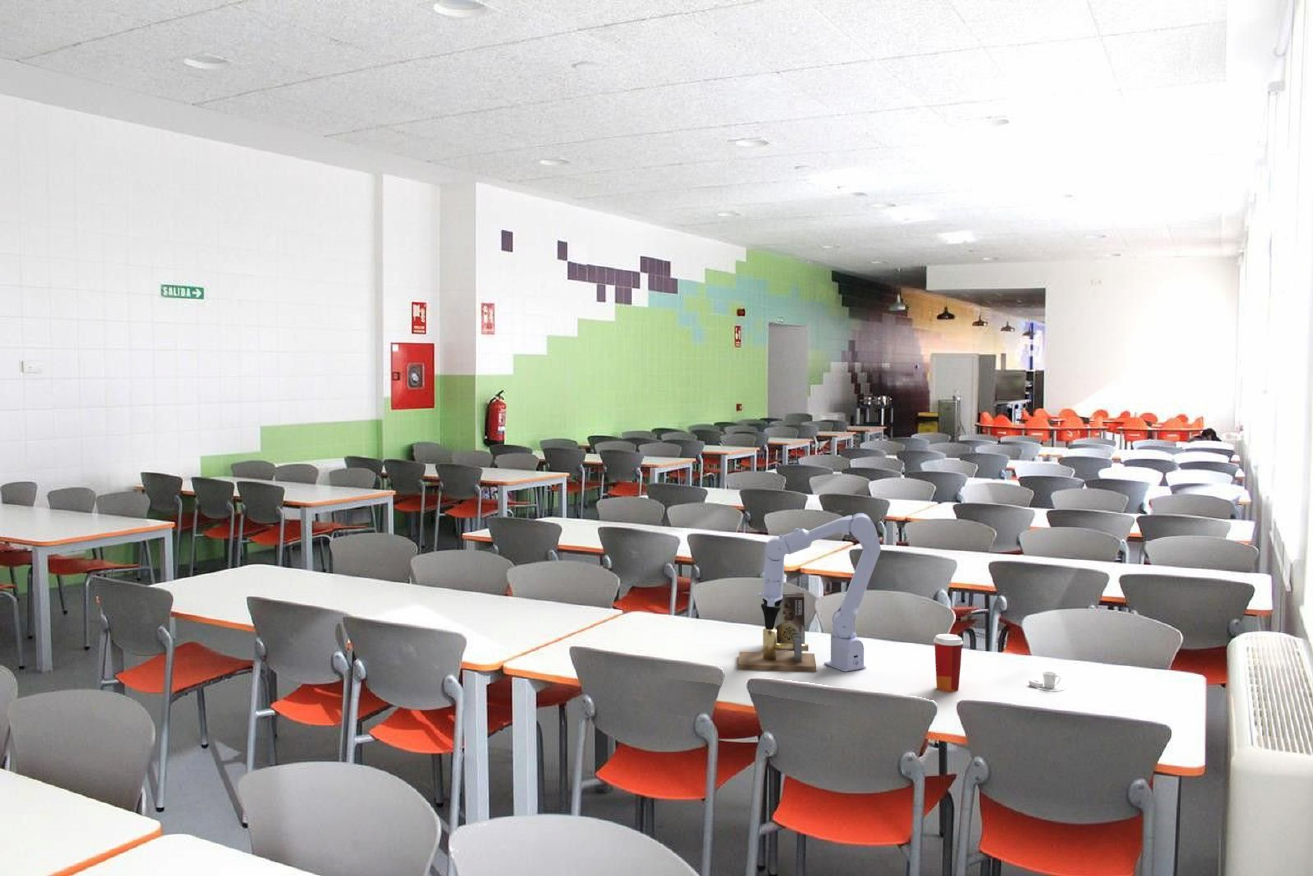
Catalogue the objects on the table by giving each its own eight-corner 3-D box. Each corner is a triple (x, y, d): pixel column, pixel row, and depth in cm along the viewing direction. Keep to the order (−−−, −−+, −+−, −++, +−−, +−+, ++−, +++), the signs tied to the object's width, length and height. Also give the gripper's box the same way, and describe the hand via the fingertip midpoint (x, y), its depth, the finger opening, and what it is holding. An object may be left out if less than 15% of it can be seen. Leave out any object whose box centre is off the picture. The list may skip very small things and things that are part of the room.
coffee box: (804, 643, 323) (804, 592, 322) (805, 648, 317) (805, 596, 316) (774, 642, 324) (774, 591, 323) (775, 648, 318) (775, 596, 317)
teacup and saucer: (1025, 687, 278) (1025, 672, 277) (1038, 681, 283) (1038, 667, 283) (1057, 694, 271) (1057, 679, 271) (1070, 688, 277) (1070, 673, 277)
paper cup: (957, 684, 279) (957, 633, 279) (966, 693, 272) (967, 640, 271) (928, 684, 279) (929, 633, 278) (937, 693, 271) (937, 640, 271)
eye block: (814, 658, 306) (814, 630, 305) (816, 671, 292) (816, 642, 291) (739, 656, 308) (739, 628, 307) (738, 669, 294) (738, 640, 294)
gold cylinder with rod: (808, 656, 301) (808, 629, 300) (808, 660, 297) (808, 632, 296) (763, 655, 302) (763, 627, 302) (762, 659, 298) (763, 631, 298)
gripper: (760, 573, 307) (757, 618, 308) (758, 583, 293) (754, 630, 294) (784, 576, 306) (781, 621, 307) (783, 585, 292) (779, 633, 293)
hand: (769, 626), depth 300 cm, fingers open, 7 cm apart
